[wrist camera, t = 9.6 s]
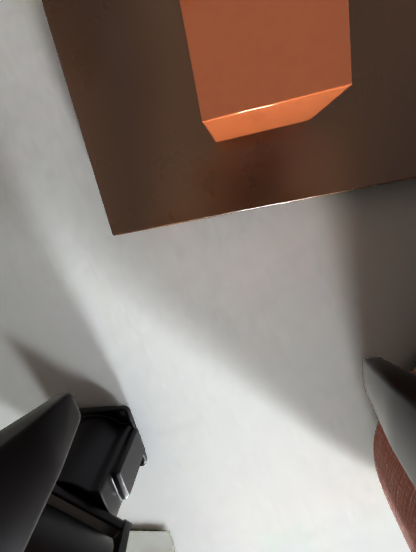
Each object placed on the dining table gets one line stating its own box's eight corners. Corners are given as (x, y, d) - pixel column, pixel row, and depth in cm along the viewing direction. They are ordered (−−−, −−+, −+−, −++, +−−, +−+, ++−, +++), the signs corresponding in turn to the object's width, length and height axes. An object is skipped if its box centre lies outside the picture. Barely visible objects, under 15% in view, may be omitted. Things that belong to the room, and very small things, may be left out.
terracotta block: (215, 142, 16) (202, 122, 10) (196, 34, 14) (167, -61, 8) (310, 120, 15) (352, 84, 9) (300, 2, 13) (343, -127, 8)
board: (121, 231, 19) (112, 236, 18) (53, -2, 16) (34, -19, 14) (447, 169, 16) (467, 168, 15) (464, -148, 12) (493, -189, 11)
